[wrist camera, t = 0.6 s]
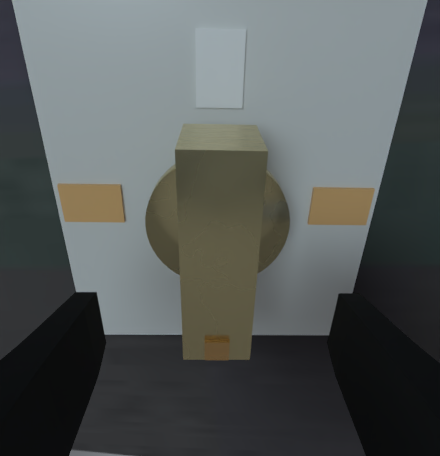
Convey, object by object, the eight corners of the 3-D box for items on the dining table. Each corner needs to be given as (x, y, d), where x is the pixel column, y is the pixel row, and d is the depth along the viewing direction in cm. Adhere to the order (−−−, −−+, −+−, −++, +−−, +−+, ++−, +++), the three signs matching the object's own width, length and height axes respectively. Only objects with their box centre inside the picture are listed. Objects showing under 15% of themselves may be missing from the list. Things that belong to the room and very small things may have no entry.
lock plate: (413, -3, 15) (446, -8, 13) (335, 321, 24) (347, 350, 21) (23, -13, 14) (-10, -21, 12) (91, 320, 23) (79, 349, 21)
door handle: (298, 120, 15) (329, 154, 11) (276, 294, 19) (293, 363, 15) (140, 117, 14) (112, 150, 10) (155, 293, 19) (139, 363, 15)
